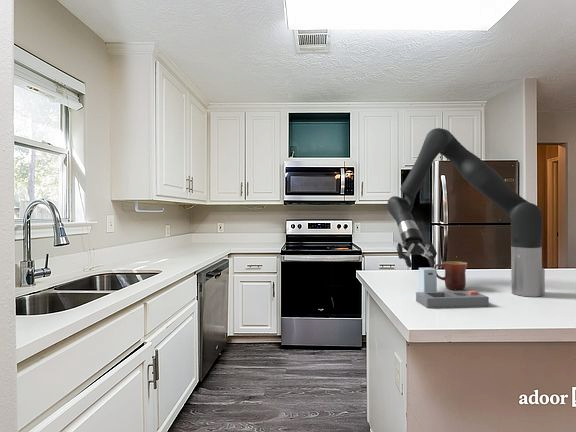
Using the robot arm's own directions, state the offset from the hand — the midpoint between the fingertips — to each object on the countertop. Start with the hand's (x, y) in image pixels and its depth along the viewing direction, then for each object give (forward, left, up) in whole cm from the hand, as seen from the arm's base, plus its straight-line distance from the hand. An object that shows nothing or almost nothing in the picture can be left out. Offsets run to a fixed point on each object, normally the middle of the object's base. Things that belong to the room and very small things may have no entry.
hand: (421, 266), depth 135 cm
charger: (0, +5, -10) cm, 11 cm away
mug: (-14, -6, -10) cm, 18 cm away
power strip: (-3, +16, -10) cm, 19 cm away
